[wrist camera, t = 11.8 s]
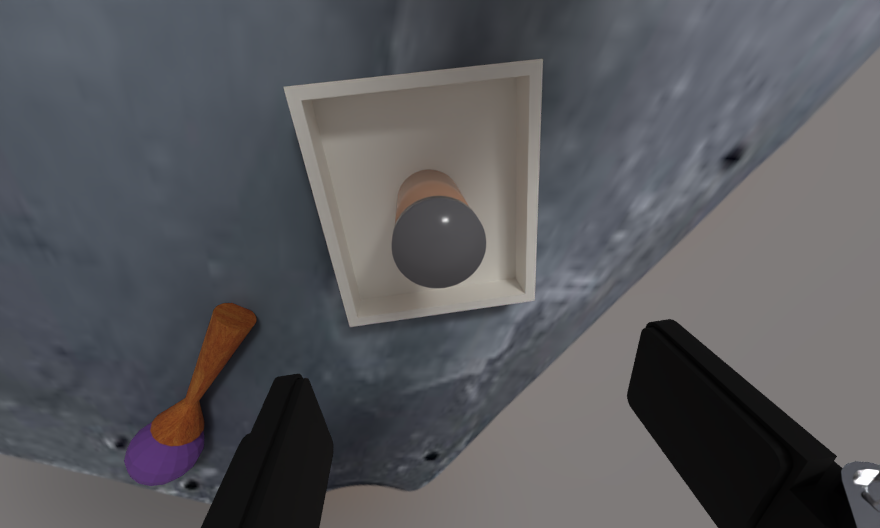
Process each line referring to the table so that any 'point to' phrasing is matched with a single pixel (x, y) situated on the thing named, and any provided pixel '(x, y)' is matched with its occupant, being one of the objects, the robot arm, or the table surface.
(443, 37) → the table surface
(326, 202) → the tray
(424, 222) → the cylinder
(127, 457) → the brown purple handled piece
